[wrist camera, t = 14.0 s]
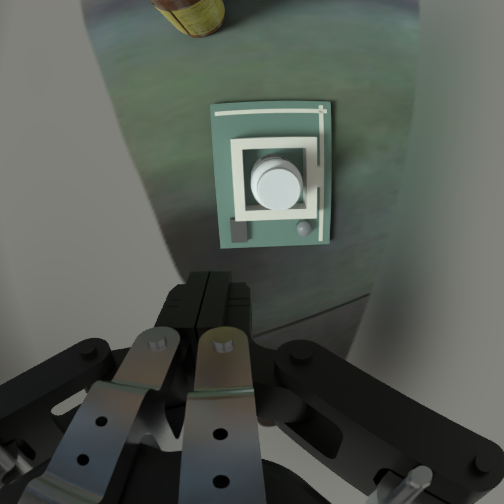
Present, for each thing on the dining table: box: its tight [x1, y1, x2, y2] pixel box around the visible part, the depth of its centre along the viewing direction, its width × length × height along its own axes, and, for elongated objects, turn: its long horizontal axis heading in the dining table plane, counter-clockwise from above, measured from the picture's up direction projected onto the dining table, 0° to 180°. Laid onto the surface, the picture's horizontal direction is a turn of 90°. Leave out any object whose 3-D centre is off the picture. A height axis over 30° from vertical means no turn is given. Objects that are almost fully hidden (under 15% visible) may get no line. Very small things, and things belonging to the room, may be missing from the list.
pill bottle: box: [251, 154, 303, 211], centre depth 31 cm, size 5×5×9 cm
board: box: [210, 101, 332, 248], centre depth 35 cm, size 18×14×4 cm
